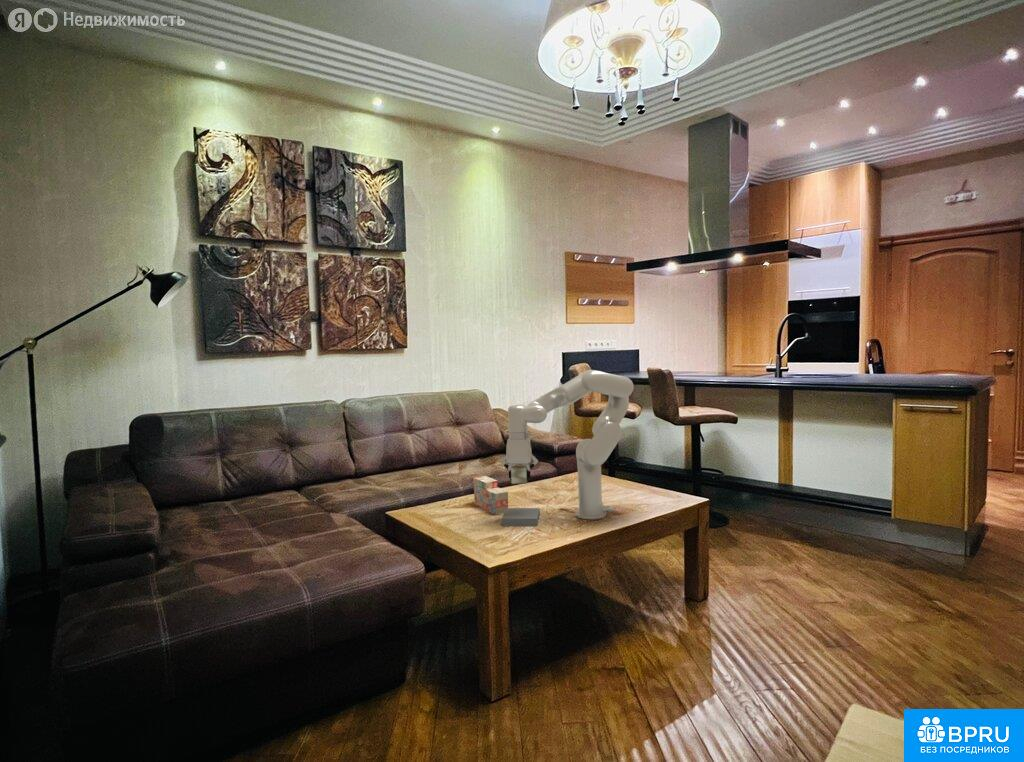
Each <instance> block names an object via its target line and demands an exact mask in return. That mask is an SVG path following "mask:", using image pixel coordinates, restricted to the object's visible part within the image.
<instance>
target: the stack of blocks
mask: <svg viewBox="0 0 1024 762" xmlns="http://www.w3.org/2000/svg"><path fill="white" fill-rule="evenodd" d="M472 479H473V494H474V495H473V497H474V498H473V499H474V505H476V504H477V505H476V506H478V505H479V506H478V507H480V508H481V507H482V508H481V509H484V510H486V511H488V512H490V513H491V512H492V513H491V514H493V513H494V514H493V515H495V514H496V515H495V516H497V514H498V515H503V514H504V512H505V510H506V508H509V491H508V490H505V489H503V488H501V487H499V484H498V483H499V481H498V479H495V478H492V477H490V476H488V475H481V476H476V477H473V478H472ZM502 513H503V514H502Z"/></svg>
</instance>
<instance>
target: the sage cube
mask: <svg viewBox="0 0 1024 762" xmlns="http://www.w3.org/2000/svg"><path fill="white" fill-rule="evenodd" d="M527 483H528V481H527V467H526V465H525V464H513V465H512V468H511V484H513V485H515V484H516V485H517V484H527Z"/></svg>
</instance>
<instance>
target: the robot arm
mask: <svg viewBox="0 0 1024 762" xmlns="http://www.w3.org/2000/svg"><path fill="white" fill-rule="evenodd" d="M634 388H635V387H634V383H633V381H632V379H630V378H629V377H628V376H624V375H619V374H618V375H617V374H613V373H610V372H609V373H608V372H605V371H601V370H595V369H588V370H585V371H583V372H581V373H579V374H578V375H576V376H574V377H573V378H571V379H570V380H569V381H566V382H565V383H564V384H561V385H559V386H558V387H556V388H553V389H552V390H551V391H548V392H546V393H544V394H543V395H541V396H539V397H538V398H536V399H534V400H532V401H531V402H530V403H529V404H527V405H523V404H513V405H509V406H508V408H507V415H508V417H507V418H508V438H507V441H506V453H505V454H506V455H505V456H504V457H502V459H500V461H499V463H500V464H501V465H502V466H504V468H505V469H506V470H507V471H508V478H509V480H510V481H511V468H512V466H513V465H526V467H527V482H528V481H530V479H531V470H532V469H533V468H534V467H535V466H536V465H537V464H538V463H539V460H538V459H537V458H536V456H534V454H533V453H532V451H533V450H532V444H531V439H530V437H532V432H529V431H528V424H529V423H530V424H541V423H543V422H545V420H546V419H547V416H548V413H550V412H552V411H553V410H555V409H558V408H561V407H562V408H563V407H565V406H566V407H567V406H569V405H572V404H574V403H575V402H577V401H579V400H580V399H582V398H584V397H585V396H586V395H589V394H590V393H592V392H594V393H597V394H602V395H606V396H608V401H607V403H606V405H605V407H604V409H603V410H602V411H601V413H600V414H599V416H598V417H597V419H596V420H595V422H594V423H593V425H592V427H591V432H592V434H593V436H592V438H584V439H581V440H580V441H579V442H578V444H577V445H576V449H575V457H576V465H577V485H578V486H577V488H578V491H577V492H578V509H577V510H576V511H575V512H574V513H575V517H577V518H578V519H582V520H601V519H603V518H606V516H607V512H610V513H611V512H612V513H613V512H614V506H611V505H605V504H604V503H603V496H602V493H603V491H602V488H603V487H602V467H601V466H602V465H603V464H604V463H605V462H606V461H607V459H608V458H609V457H610V455H611V454H612V452H614V451H613V450H614V449H615V448H616V446H617V445H618V443H619V441H620V439H621V438H622V428H621V426H620V424H621V422H622V421H623V419H624V417H625V416H626V414H627V413H628V409H629V405H630V404H629V403H630V400H629V399H630V398H629V396H631V394H632V393H633V392H634ZM532 461H533V462H532Z"/></svg>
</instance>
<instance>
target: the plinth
mask: <svg viewBox="0 0 1024 762" xmlns="http://www.w3.org/2000/svg"><path fill="white" fill-rule="evenodd" d="M539 516H541V508H540V507H508V508H506V510H505V512H504V513H503V514H502V516H501V527H538V525H539V524H538V523H539V521H538V520H540V517H539Z"/></svg>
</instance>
